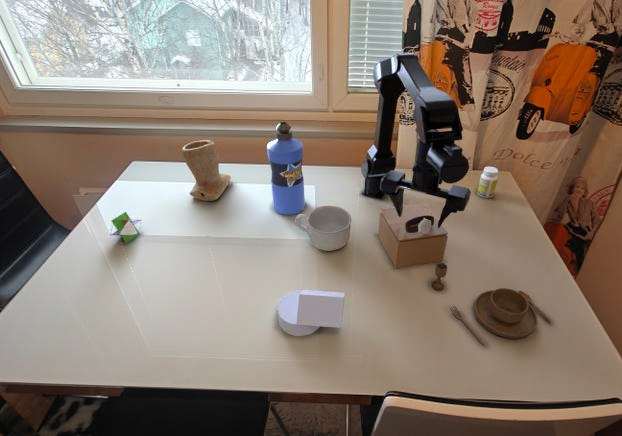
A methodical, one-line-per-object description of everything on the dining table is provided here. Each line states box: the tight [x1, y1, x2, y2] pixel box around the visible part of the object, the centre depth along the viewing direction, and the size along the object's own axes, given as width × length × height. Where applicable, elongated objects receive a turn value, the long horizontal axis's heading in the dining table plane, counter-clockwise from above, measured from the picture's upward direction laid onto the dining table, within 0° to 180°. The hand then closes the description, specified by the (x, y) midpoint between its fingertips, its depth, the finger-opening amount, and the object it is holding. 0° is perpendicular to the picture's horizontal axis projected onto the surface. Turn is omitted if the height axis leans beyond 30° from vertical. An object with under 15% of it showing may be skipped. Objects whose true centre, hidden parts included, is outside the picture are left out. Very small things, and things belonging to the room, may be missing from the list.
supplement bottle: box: [476, 166, 499, 199], centre depth 116 cm, size 5×5×8 cm
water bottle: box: [266, 121, 306, 216], centre depth 105 cm, size 9×9×25 cm
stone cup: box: [181, 139, 232, 202], centre depth 115 cm, size 15×12×15 cm
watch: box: [405, 215, 434, 233], centre depth 88 cm, size 8×5×4 cm, turn 122°
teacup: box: [294, 205, 352, 252], centre depth 96 cm, size 14×11×8 cm
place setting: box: [430, 262, 552, 346], centre depth 80 cm, size 18×20×6 cm
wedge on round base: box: [276, 289, 346, 337], centre depth 76 cm, size 9×7×13 cm
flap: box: [379, 203, 436, 225], centre depth 95 cm, size 6×12×1 cm, turn 103°
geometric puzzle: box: [109, 211, 142, 244], centre depth 98 cm, size 7×7×8 cm
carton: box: [377, 211, 449, 269], centre depth 94 cm, size 13×12×8 cm
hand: (419, 221), depth 89 cm, fingers open, 9 cm apart
